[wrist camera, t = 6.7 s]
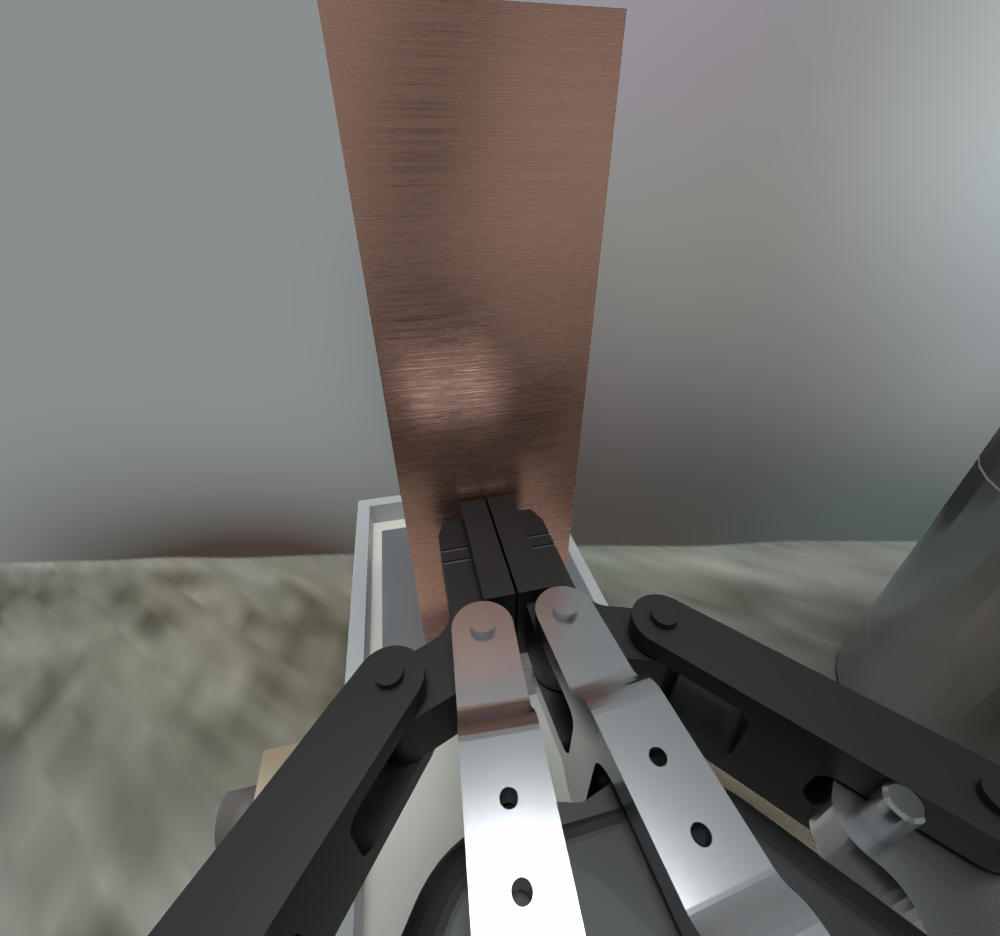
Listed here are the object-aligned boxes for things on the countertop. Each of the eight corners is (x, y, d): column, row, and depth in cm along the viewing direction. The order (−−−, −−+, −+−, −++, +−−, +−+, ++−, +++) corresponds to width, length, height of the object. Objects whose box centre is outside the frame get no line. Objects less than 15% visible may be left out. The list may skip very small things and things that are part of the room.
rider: (608, 676, 16) (766, -18, 6) (391, 727, 15) (160, -70, 5) (543, 535, 23) (572, 83, 13) (388, 561, 21) (285, 73, 11)
